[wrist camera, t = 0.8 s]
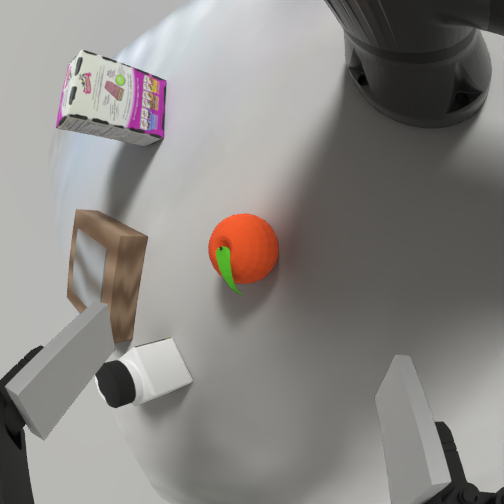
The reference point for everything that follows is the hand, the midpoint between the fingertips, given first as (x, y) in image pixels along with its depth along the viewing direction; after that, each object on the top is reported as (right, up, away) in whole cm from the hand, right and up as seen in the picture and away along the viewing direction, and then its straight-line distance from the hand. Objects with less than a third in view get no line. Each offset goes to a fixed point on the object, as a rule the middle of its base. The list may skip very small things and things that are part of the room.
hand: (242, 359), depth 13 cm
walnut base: (-25, +1, +38) cm, 46 cm away
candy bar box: (-15, +27, +32) cm, 44 cm away
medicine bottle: (-12, -12, +30) cm, 34 cm away
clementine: (+2, +4, +21) cm, 21 cm away
